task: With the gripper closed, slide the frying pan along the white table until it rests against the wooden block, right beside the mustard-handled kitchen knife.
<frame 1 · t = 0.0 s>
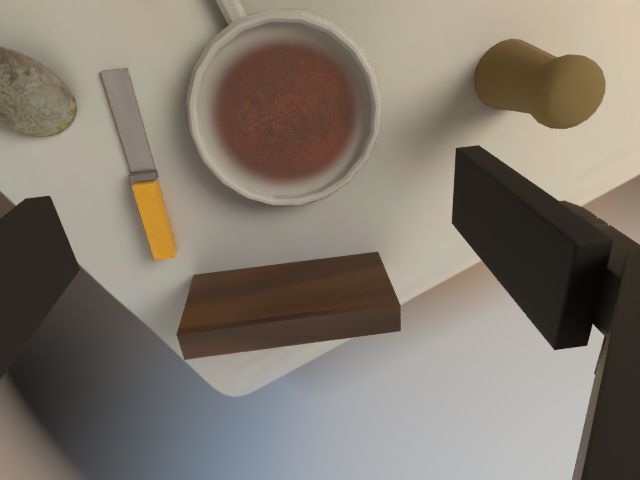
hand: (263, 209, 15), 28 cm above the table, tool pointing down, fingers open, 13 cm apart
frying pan: (255, 54, 39), on the table
knife: (143, 170, 42), on the table
wooden block: (288, 274, 49), on the table
cork: (506, 74, 41), on the table
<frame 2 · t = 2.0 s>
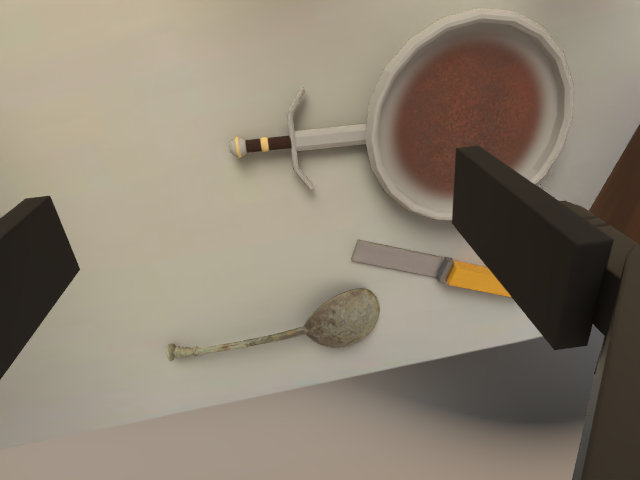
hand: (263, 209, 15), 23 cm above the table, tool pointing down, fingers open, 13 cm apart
soupspoon: (274, 324, 46), on the table
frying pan: (396, 126, 38), on the table
knife: (439, 266, 45), on the table
wooden block: (618, 186, 42), on the table
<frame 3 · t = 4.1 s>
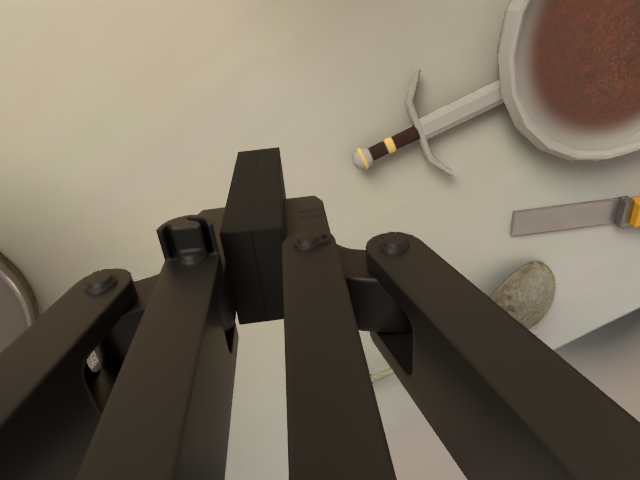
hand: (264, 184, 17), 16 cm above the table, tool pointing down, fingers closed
soupspoon: (441, 328, 42), on the table
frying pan: (529, 71, 32), on the table
knife: (614, 209, 38), on the table
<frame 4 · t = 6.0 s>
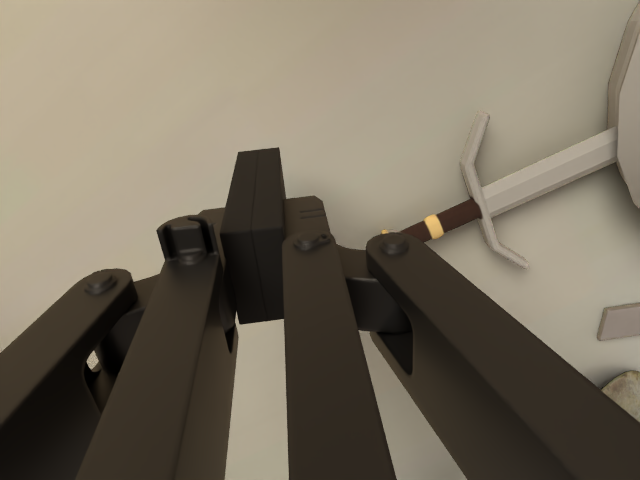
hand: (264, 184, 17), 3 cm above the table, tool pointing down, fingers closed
soupspoon: (491, 451, 31), on the table
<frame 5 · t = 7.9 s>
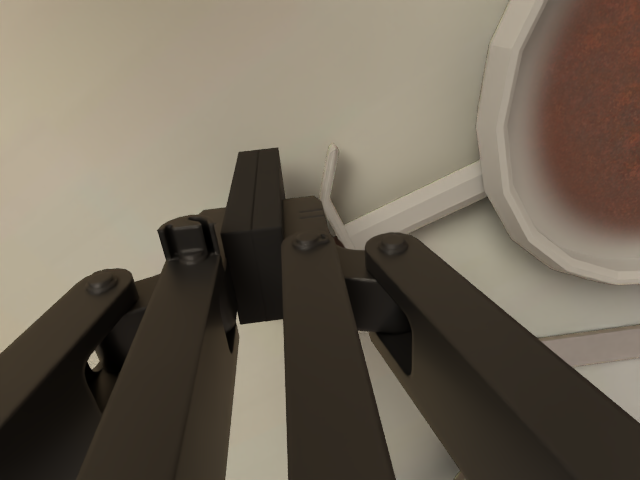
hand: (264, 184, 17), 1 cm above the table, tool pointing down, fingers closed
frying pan: (532, 140, 19), on the table, touching gripper
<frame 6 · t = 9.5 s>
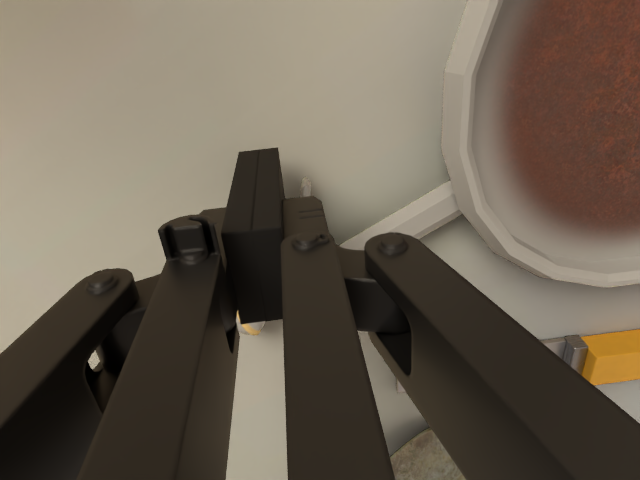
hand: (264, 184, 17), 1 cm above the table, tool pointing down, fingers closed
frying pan: (507, 151, 19), on the table, touching gripper
knife: (559, 352, 24), on the table
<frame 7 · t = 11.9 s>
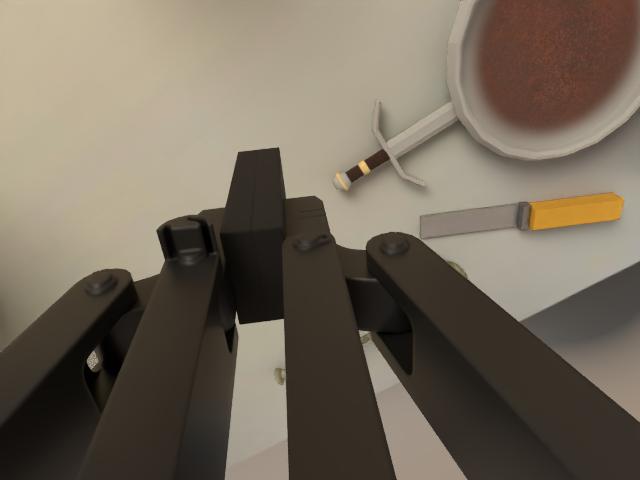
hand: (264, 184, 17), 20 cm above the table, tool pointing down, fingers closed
soupspoon: (366, 322, 46), on the table
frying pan: (481, 87, 36), on the table
knife: (516, 214, 41), on the table
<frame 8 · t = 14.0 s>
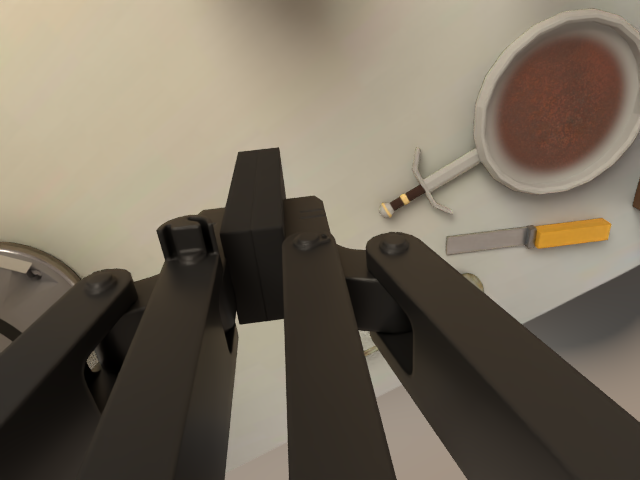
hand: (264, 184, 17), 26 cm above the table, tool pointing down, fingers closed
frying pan: (499, 136, 45), on the table
knife: (524, 235, 50), on the table
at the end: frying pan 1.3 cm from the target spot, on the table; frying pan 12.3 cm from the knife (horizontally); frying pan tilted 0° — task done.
